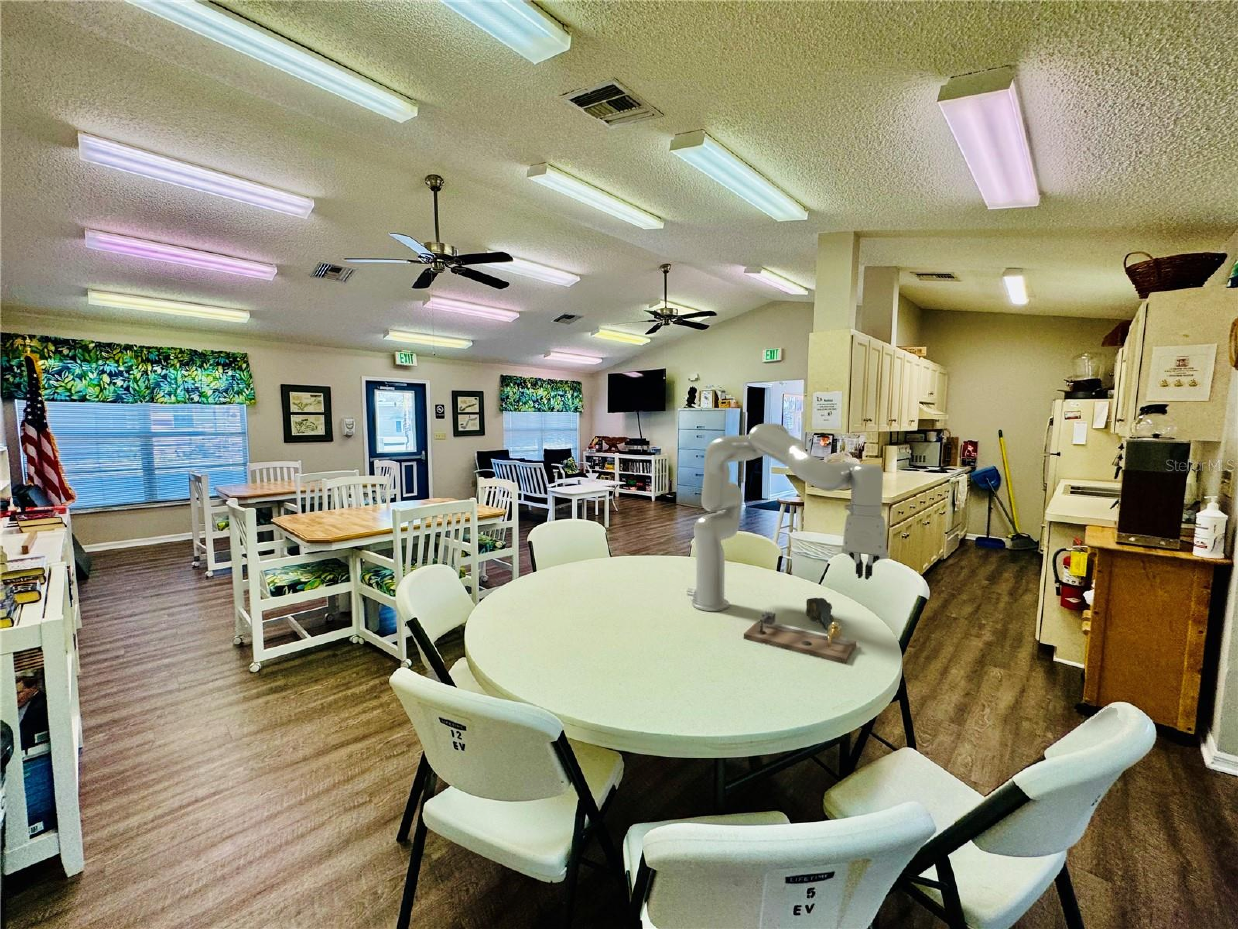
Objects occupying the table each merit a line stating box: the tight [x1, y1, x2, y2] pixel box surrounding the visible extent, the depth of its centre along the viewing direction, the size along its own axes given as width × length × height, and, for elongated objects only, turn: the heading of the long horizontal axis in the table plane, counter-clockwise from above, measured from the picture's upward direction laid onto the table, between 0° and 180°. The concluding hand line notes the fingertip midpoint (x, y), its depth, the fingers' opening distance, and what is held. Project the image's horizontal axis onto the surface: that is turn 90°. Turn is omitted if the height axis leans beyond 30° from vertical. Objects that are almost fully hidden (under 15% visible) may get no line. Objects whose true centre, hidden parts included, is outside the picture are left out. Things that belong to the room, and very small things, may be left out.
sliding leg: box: [827, 621, 843, 647], centre depth 143 cm, size 3×8×5 cm, turn 144°
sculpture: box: [805, 597, 835, 631], centre depth 162 cm, size 13×6×7 cm, turn 176°
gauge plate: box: [743, 610, 857, 665], centre depth 148 cm, size 28×13×5 cm, turn 54°
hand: (863, 577), depth 139 cm, fingers closed
